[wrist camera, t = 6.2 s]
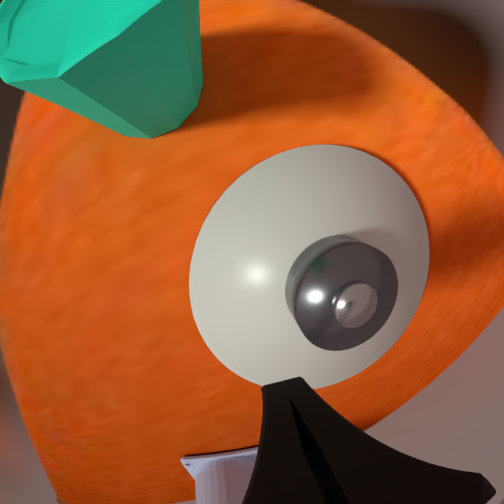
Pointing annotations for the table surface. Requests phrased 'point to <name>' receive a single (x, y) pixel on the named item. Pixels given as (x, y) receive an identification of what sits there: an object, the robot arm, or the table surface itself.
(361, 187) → the cream flat disc
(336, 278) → the cover
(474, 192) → the table surface
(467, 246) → the table surface
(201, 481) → the robot arm
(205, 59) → the table surface
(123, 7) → the candle
